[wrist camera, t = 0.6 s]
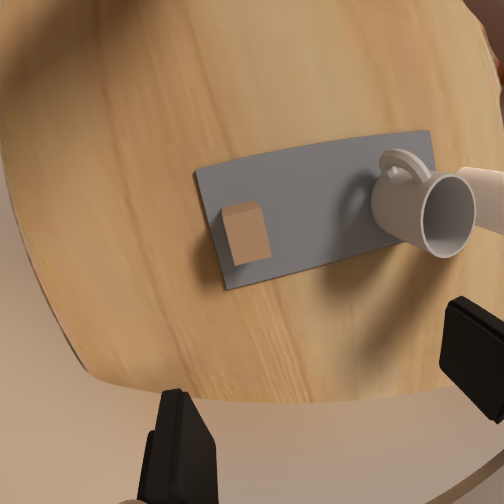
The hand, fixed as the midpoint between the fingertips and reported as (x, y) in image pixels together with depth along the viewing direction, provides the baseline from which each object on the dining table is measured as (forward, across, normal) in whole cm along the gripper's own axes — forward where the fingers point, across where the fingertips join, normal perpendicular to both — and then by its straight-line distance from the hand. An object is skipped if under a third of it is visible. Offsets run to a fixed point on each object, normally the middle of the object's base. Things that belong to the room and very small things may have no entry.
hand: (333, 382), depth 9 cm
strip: (+21, -9, -2) cm, 23 cm away
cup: (+20, -15, -2) cm, 26 cm away
